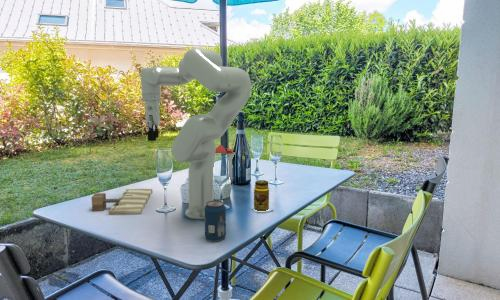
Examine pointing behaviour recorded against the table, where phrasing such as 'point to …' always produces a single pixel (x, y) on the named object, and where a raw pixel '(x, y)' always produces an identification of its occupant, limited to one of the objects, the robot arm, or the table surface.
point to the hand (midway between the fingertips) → (153, 139)
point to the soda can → (215, 220)
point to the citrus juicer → (231, 154)
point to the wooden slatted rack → (131, 202)
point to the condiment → (261, 195)
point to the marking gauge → (101, 201)
